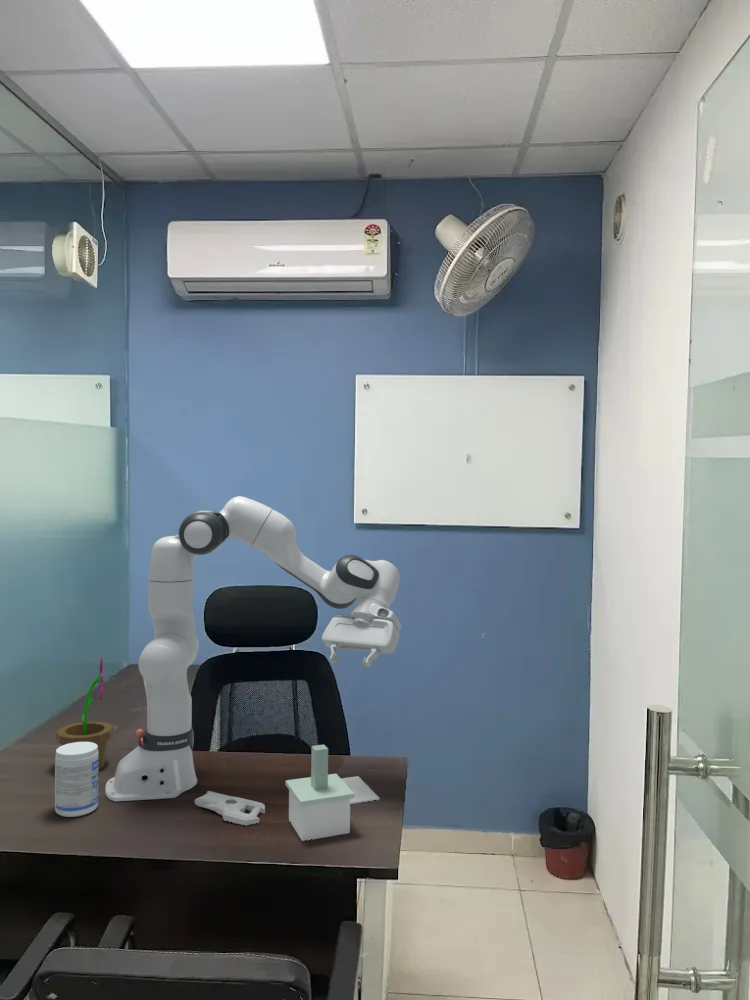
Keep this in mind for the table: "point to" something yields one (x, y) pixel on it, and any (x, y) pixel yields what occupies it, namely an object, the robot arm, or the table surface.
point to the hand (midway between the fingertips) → (349, 663)
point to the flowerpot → (89, 726)
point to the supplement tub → (76, 779)
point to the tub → (319, 818)
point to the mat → (359, 790)
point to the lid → (319, 782)
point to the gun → (232, 807)
